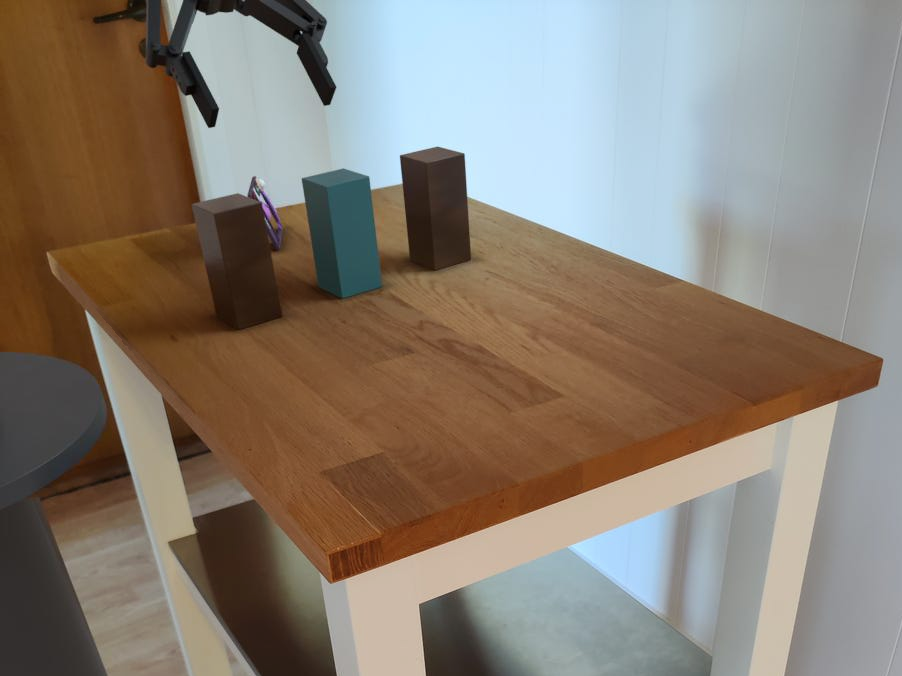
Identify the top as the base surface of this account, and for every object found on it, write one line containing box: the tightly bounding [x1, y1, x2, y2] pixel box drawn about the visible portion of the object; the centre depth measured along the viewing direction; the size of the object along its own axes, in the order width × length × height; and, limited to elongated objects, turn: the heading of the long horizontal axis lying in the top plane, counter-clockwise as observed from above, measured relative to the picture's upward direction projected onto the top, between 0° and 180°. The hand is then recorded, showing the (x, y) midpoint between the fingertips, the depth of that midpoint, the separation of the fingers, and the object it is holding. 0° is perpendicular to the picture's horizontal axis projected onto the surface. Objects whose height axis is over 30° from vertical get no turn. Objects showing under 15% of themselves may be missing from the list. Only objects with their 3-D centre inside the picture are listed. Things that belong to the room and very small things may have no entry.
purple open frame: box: [246, 175, 284, 251], centre depth 120 cm, size 7×5×9 cm
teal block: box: [301, 168, 383, 299], centre depth 103 cm, size 5×5×11 cm
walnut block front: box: [191, 192, 283, 330], centre depth 98 cm, size 5×5×11 cm
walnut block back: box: [399, 146, 472, 271], centre depth 108 cm, size 5×5×11 cm
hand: (273, 107), depth 103 cm, fingers open, 13 cm apart
